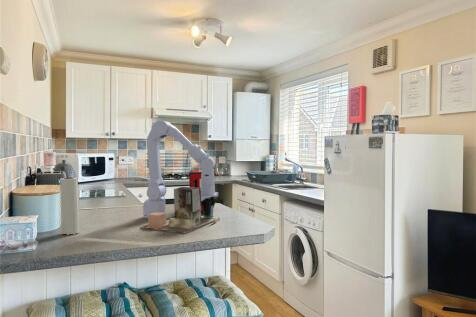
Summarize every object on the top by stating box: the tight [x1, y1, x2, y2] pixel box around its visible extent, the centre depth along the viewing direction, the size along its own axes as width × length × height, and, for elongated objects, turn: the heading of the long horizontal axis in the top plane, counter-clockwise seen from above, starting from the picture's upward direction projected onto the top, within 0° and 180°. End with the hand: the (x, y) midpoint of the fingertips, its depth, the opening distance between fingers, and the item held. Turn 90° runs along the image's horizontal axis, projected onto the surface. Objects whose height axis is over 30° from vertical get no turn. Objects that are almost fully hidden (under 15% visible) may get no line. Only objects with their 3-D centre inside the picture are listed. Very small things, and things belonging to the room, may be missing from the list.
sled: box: [168, 205, 221, 230], centre depth 143 cm, size 12×21×6 cm, turn 154°
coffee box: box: [173, 186, 203, 227], centre depth 137 cm, size 9×6×16 cm
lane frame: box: [139, 215, 217, 235], centre depth 139 cm, size 21×22×6 cm
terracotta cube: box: [147, 212, 167, 228], centre depth 136 cm, size 5×5×5 cm
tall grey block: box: [59, 177, 80, 236], centre depth 131 cm, size 7×6×21 cm
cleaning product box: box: [188, 169, 204, 215], centre depth 172 cm, size 16×9×20 cm, turn 6°
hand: (208, 215), depth 152 cm, fingers closed
